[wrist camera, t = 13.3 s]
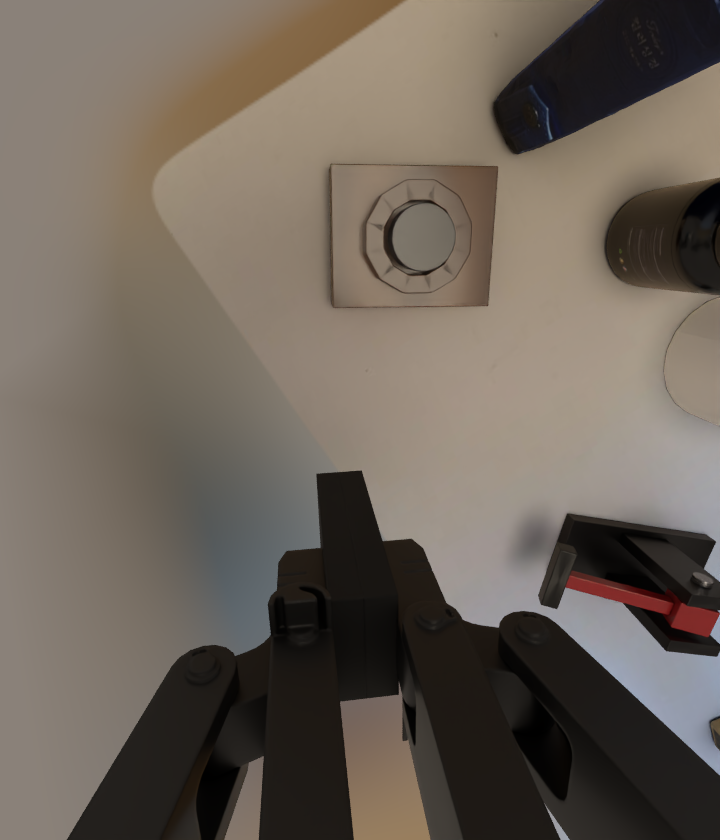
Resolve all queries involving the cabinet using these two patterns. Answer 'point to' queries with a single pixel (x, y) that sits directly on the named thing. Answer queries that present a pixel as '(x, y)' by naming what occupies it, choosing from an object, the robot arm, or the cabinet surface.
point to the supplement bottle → (669, 239)
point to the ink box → (716, 732)
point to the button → (421, 237)
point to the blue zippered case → (607, 66)
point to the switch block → (370, 221)
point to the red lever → (620, 594)
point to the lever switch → (649, 571)
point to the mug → (696, 363)
